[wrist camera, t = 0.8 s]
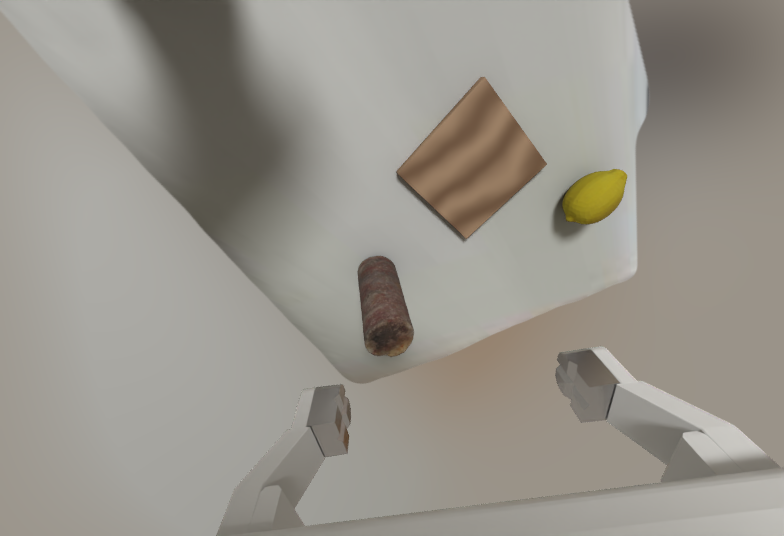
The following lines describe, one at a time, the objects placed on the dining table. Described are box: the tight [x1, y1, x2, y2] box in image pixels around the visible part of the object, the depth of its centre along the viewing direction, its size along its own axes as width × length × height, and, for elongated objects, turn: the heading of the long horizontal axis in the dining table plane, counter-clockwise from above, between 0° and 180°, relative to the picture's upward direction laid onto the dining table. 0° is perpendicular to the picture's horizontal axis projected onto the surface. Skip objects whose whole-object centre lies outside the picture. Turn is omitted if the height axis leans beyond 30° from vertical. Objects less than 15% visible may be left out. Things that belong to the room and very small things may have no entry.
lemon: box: [562, 169, 627, 224], centre depth 52 cm, size 11×8×8 cm
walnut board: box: [396, 77, 547, 239], centre depth 50 cm, size 18×18×2 cm
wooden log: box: [358, 256, 414, 357], centre depth 50 cm, size 8×7×20 cm
